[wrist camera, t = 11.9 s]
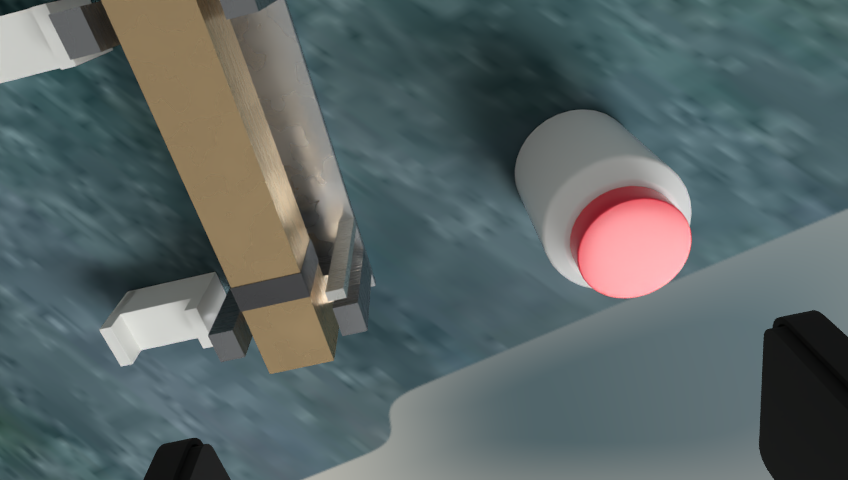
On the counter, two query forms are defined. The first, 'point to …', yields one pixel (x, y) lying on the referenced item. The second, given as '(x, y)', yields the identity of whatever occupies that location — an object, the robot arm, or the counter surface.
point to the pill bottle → (604, 204)
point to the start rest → (139, 309)
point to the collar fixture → (297, 146)
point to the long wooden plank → (231, 171)
